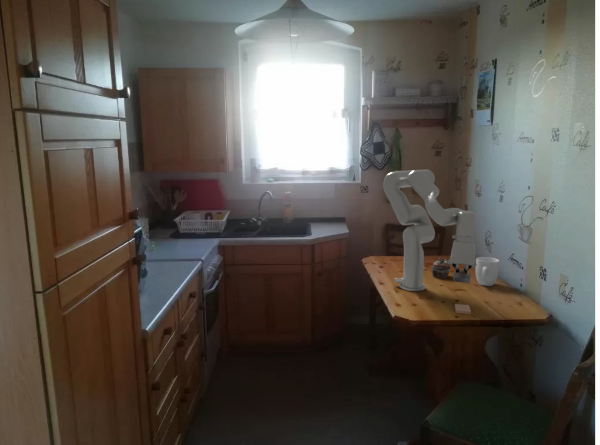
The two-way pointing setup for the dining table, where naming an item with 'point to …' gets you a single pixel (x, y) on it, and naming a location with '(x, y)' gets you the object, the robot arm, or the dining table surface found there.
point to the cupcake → (440, 268)
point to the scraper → (461, 277)
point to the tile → (462, 309)
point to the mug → (487, 270)
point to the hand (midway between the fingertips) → (460, 277)
